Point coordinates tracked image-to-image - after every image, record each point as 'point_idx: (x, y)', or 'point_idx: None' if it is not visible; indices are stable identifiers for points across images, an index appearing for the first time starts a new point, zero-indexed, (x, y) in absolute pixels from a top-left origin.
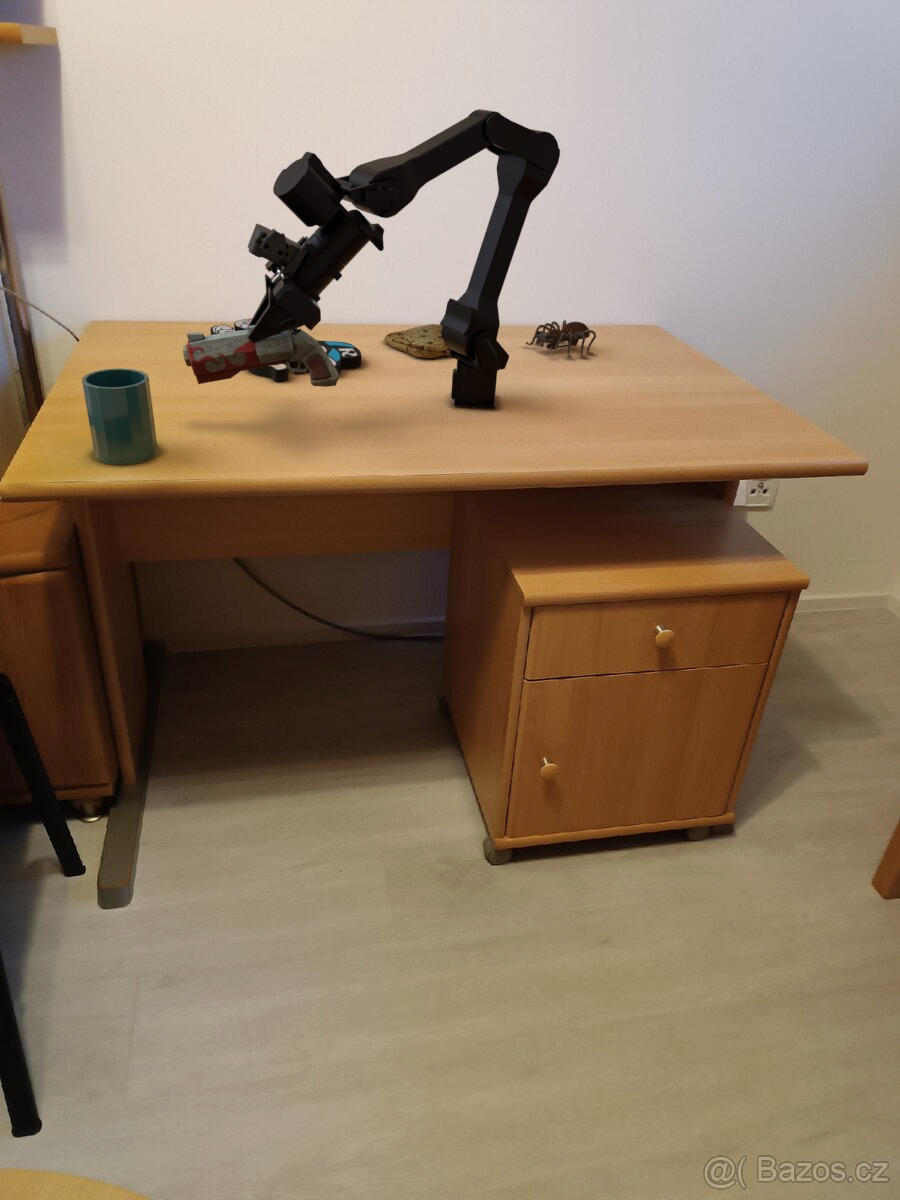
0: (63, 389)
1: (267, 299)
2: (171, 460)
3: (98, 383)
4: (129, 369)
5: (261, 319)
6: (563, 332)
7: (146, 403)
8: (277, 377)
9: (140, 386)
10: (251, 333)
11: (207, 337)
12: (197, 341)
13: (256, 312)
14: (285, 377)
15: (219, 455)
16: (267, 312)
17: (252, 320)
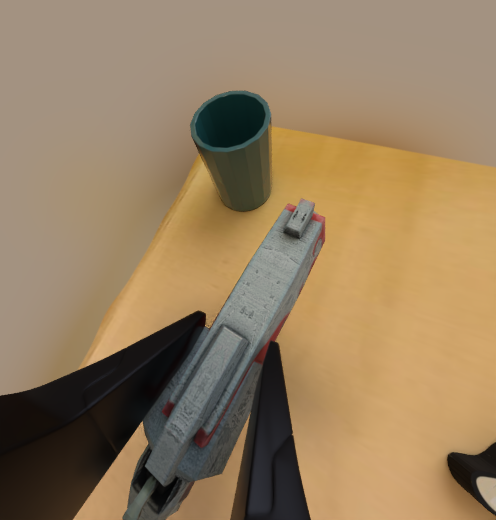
0: (460, 162)
1: (242, 510)
2: (212, 216)
3: (262, 118)
4: (258, 136)
5: (128, 348)
6: None
7: (207, 166)
8: (456, 461)
9: (195, 142)
10: (185, 317)
11: (292, 242)
12: (285, 221)
13: (266, 397)
14: (460, 481)
15: (202, 256)
16: (76, 373)
17: (264, 365)
